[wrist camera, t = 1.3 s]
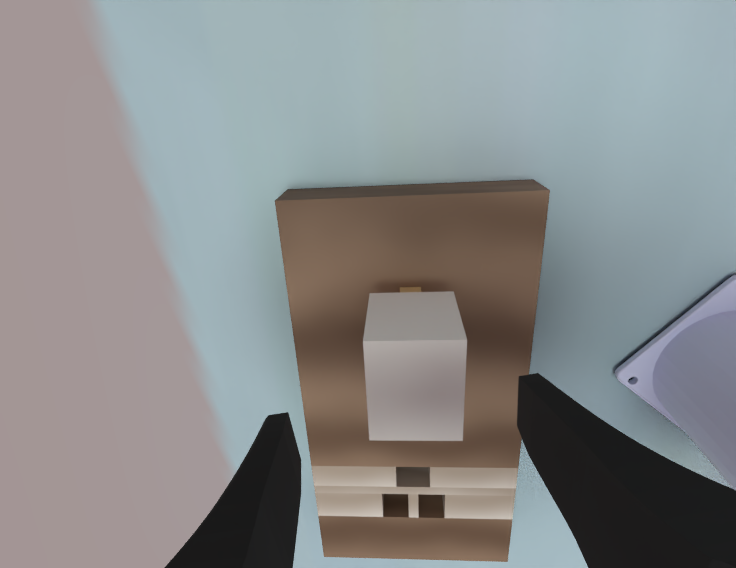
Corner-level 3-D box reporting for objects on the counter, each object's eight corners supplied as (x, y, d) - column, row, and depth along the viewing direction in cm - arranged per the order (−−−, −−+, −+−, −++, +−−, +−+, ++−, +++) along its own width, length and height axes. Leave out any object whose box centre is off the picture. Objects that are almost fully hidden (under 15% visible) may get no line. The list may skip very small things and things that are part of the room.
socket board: (499, 526, 30) (507, 561, 28) (329, 522, 31) (324, 556, 29) (533, 179, 21) (549, 190, 19) (287, 189, 22) (274, 200, 20)
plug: (446, 355, 22) (462, 440, 17) (376, 355, 23) (369, 440, 17) (448, 273, 20) (467, 339, 15) (372, 275, 21) (362, 341, 15)
